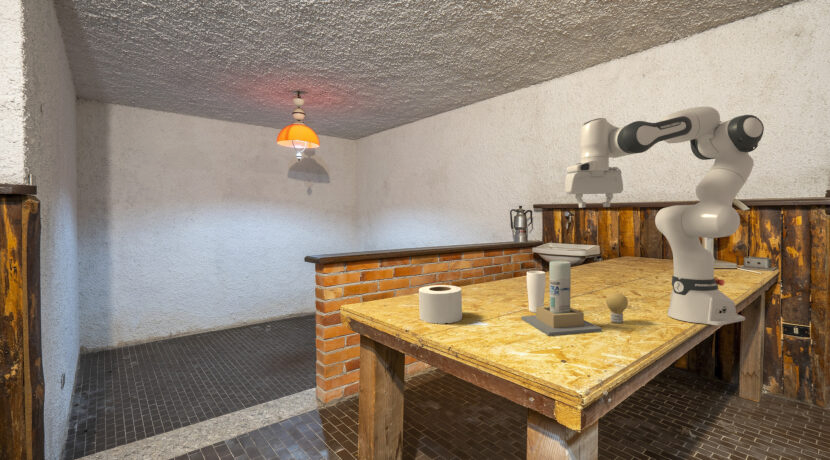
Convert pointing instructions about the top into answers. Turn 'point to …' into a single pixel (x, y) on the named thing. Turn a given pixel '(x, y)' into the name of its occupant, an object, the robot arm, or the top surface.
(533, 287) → the drinking glass
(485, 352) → the top surface
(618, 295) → the light bulb
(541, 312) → the socket
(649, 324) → the top surface
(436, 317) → the toilet paper roll
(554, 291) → the spray paint can
